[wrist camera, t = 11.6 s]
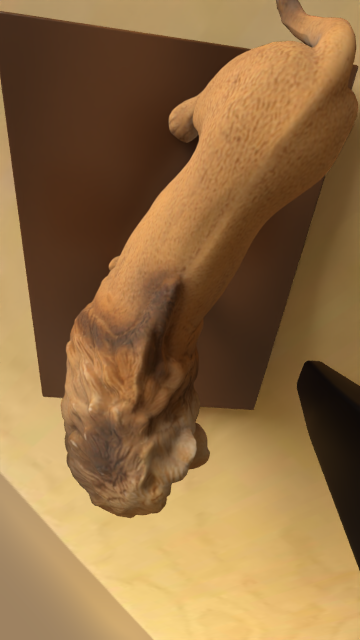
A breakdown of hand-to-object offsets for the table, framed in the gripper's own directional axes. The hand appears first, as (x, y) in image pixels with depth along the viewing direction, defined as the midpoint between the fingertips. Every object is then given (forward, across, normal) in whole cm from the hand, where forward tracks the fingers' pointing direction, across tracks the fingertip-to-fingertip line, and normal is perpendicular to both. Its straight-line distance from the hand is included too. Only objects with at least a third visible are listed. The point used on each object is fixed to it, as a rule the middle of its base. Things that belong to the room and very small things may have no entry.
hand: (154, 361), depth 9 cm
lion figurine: (+6, -1, -3) cm, 7 cm away
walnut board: (+7, 0, 0) cm, 7 cm away
